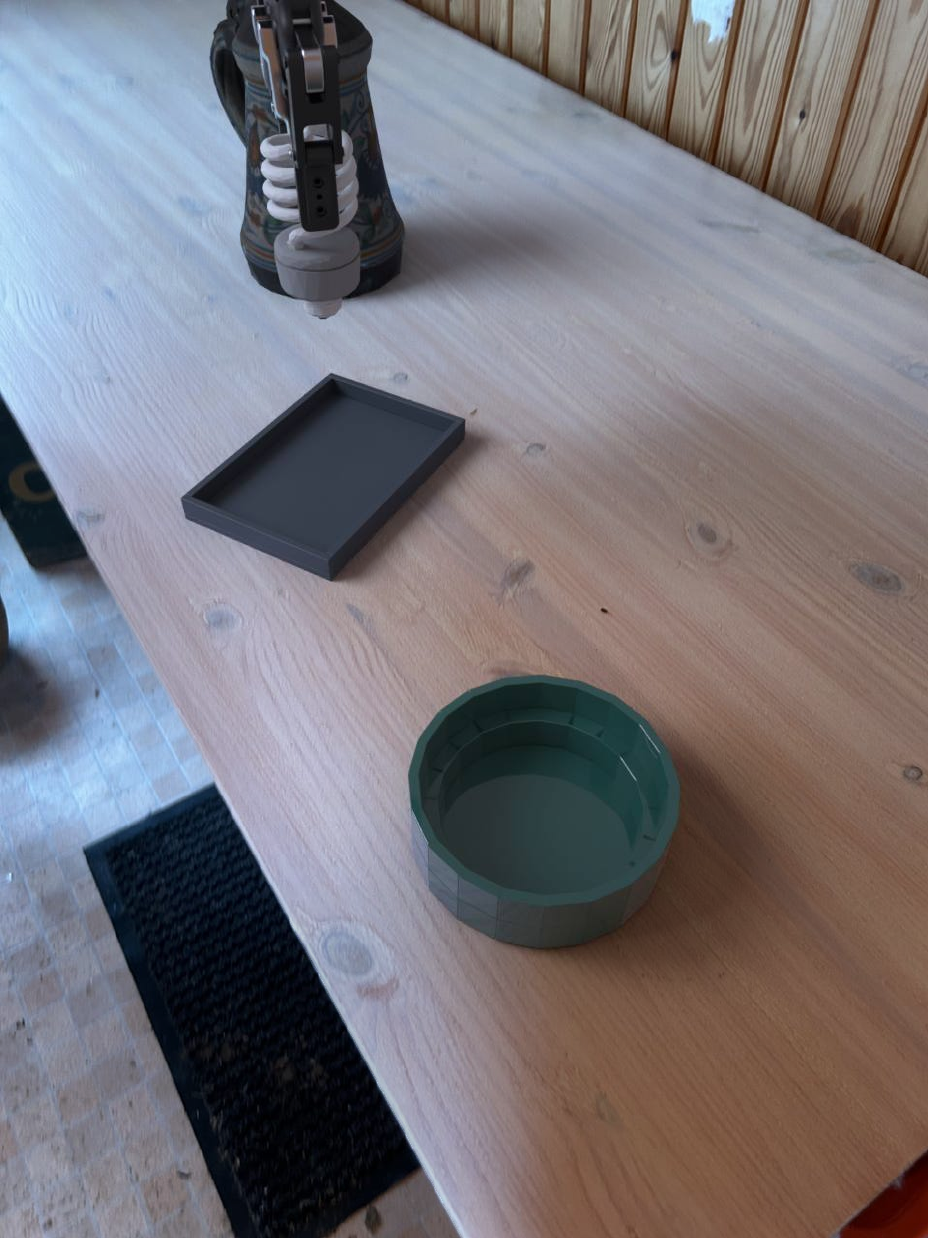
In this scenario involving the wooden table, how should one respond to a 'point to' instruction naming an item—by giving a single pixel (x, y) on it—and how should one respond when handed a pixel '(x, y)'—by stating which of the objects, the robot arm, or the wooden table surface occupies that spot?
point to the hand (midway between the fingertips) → (311, 204)
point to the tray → (325, 474)
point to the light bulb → (313, 259)
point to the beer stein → (255, 122)
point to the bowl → (541, 809)
